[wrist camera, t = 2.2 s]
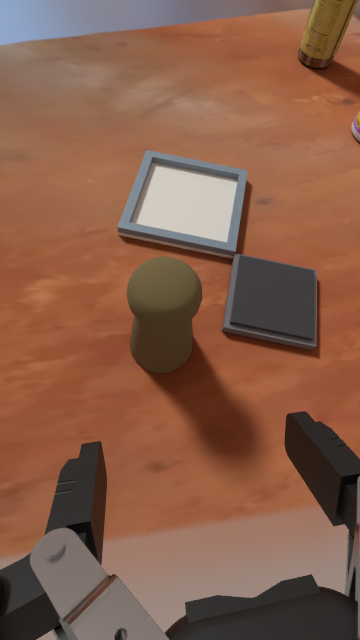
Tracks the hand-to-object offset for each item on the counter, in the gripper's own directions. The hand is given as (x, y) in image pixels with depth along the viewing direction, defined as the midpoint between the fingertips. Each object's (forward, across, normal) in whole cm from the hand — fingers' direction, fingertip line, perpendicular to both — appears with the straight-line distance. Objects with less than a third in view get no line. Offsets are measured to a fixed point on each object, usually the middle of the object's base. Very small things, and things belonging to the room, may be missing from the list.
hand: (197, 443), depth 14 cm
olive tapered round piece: (+17, 0, +3) cm, 18 cm away
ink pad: (+19, -12, 0) cm, 23 cm away
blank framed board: (+29, -5, -10) cm, 31 cm away
